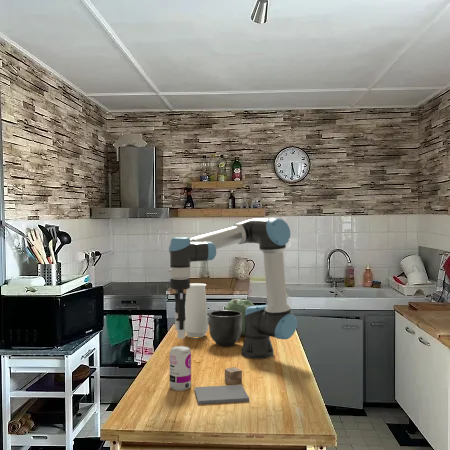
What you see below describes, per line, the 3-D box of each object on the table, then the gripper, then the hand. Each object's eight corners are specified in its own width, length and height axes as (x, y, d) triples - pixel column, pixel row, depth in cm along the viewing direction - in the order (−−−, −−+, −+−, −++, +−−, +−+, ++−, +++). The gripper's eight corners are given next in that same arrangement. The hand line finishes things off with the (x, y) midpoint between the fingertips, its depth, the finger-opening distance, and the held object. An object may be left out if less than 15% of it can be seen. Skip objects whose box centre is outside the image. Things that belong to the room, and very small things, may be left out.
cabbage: (259, 338, 266) (259, 301, 266) (224, 338, 267) (224, 300, 266) (258, 331, 282) (258, 296, 281) (224, 331, 282) (224, 296, 282)
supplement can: (194, 385, 194) (194, 346, 193) (185, 392, 186) (185, 352, 186) (175, 382, 196) (175, 344, 196) (166, 389, 189) (165, 350, 188)
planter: (247, 347, 248) (247, 315, 247) (213, 350, 243) (213, 317, 243) (236, 339, 264) (236, 309, 264) (204, 341, 259) (204, 311, 259)
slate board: (241, 387, 191) (241, 384, 191) (249, 401, 177) (249, 398, 177) (194, 390, 188) (194, 387, 188) (198, 404, 174) (198, 400, 174)
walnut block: (235, 379, 201) (235, 367, 201) (241, 383, 196) (241, 370, 196) (224, 381, 198) (224, 368, 198) (230, 385, 194) (230, 372, 194)
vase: (197, 332, 280) (197, 282, 280) (212, 336, 271) (212, 284, 270) (179, 335, 272) (179, 284, 271) (194, 340, 262) (194, 287, 262)
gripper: (168, 274, 202) (168, 326, 202) (171, 282, 177) (171, 342, 178) (187, 274, 203) (187, 326, 204) (193, 282, 179) (192, 341, 179)
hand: (179, 333), depth 191 cm, fingers open, 13 cm apart
